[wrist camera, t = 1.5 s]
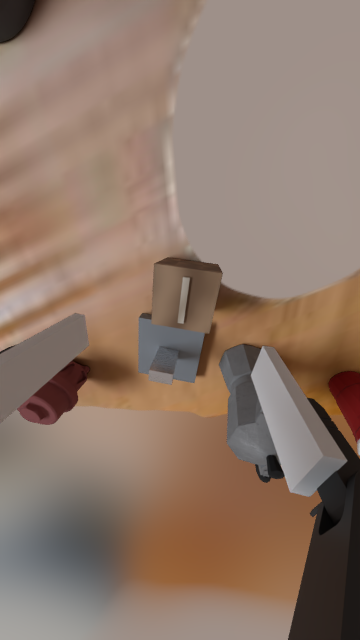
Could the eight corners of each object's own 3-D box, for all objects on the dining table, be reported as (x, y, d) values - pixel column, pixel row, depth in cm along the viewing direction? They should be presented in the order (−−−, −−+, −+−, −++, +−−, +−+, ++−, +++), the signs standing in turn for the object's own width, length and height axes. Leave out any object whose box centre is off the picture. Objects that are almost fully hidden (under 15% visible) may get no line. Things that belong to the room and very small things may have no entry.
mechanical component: (51, 351, 39) (89, 351, 38) (67, 382, 43) (102, 384, 42) (-9, 394, 28) (41, 397, 27) (20, 431, 32) (65, 435, 31)
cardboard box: (164, 304, 30) (150, 324, 23) (167, 257, 27) (153, 263, 19) (208, 311, 30) (209, 334, 22) (218, 264, 26) (222, 273, 19)
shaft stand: (142, 313, 32) (122, 336, 24) (205, 323, 31) (205, 350, 23) (141, 366, 37) (125, 398, 30) (194, 376, 36) (192, 411, 29)
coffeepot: (216, 335, 31) (227, 435, 15) (270, 332, 30) (347, 441, 14) (220, 394, 38) (232, 509, 22) (265, 394, 36) (314, 519, 20)
